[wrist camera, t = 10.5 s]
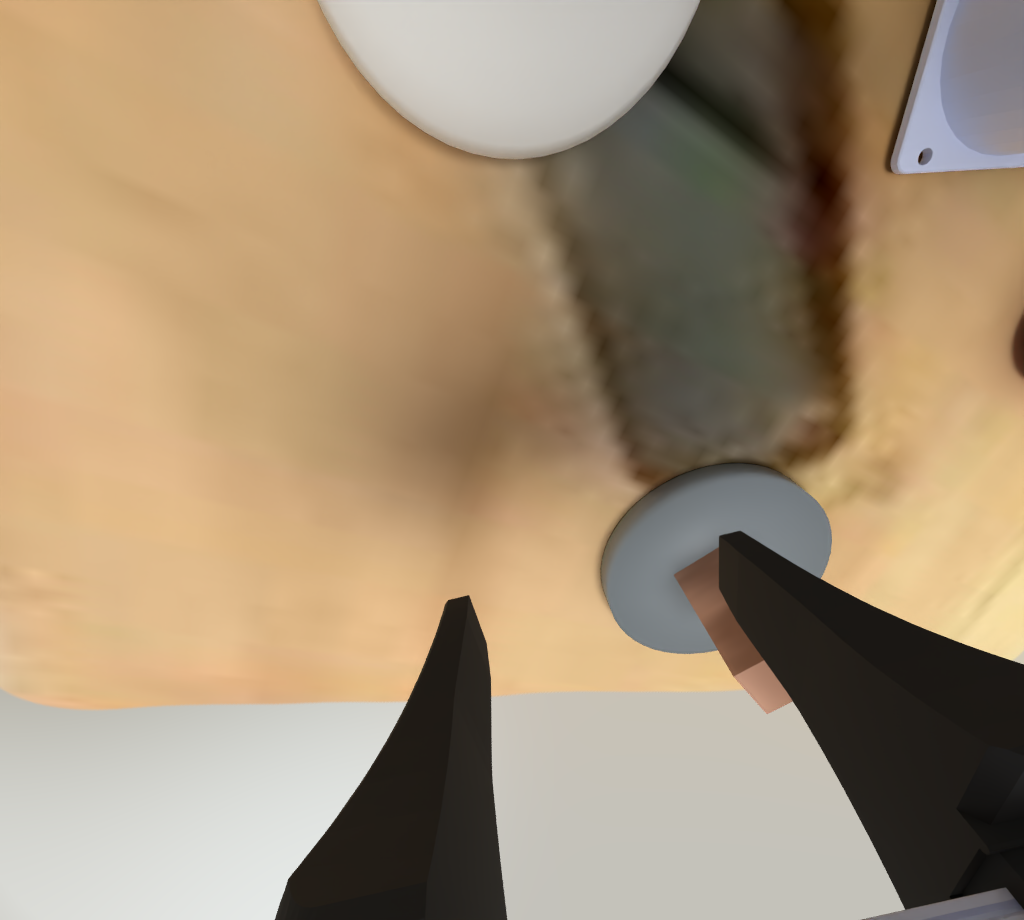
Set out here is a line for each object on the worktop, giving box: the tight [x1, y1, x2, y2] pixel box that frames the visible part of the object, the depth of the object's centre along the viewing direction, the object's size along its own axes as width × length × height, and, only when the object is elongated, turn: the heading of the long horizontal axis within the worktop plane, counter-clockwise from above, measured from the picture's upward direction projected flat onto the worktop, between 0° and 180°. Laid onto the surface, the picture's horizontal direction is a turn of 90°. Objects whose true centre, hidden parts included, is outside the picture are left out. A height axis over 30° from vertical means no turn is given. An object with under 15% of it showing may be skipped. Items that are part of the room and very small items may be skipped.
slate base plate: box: [601, 463, 832, 654], centre depth 25 cm, size 12×12×2 cm
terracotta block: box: [674, 547, 792, 714], centre depth 22 cm, size 4×4×6 cm
